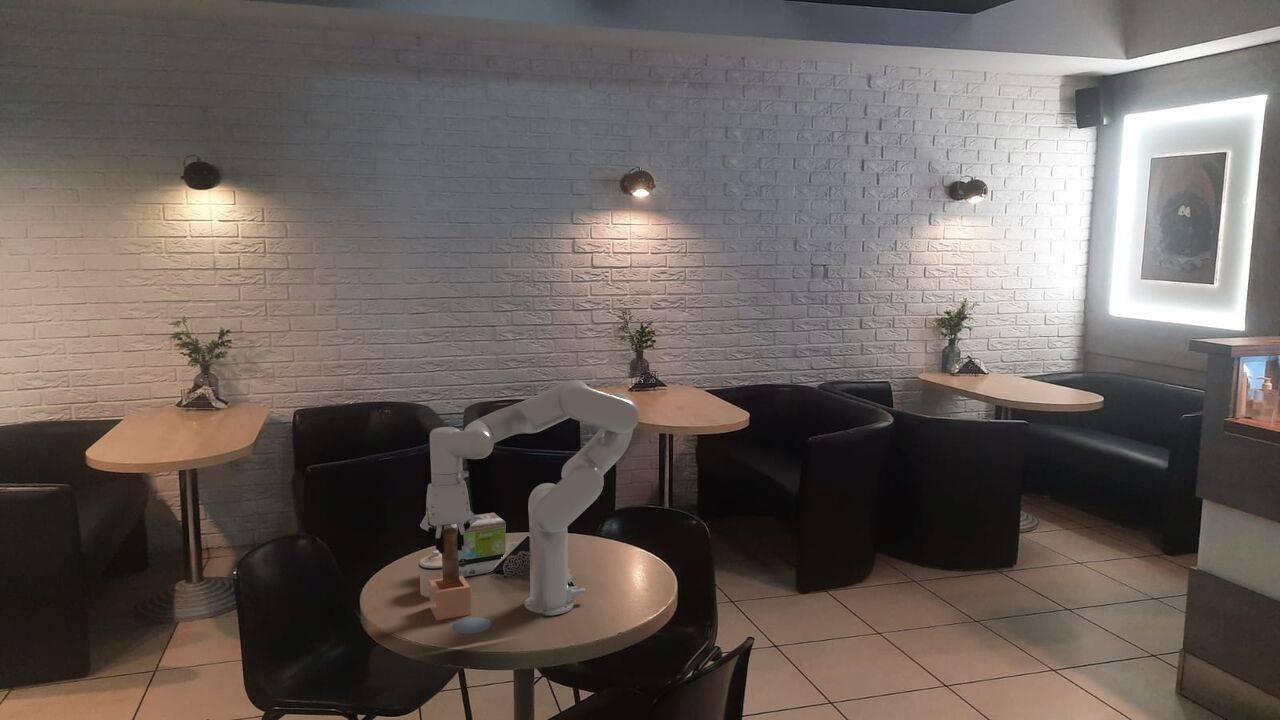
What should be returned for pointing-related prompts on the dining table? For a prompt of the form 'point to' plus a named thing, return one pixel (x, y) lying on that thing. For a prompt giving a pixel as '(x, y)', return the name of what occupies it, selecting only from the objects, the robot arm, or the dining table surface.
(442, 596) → the terracotta cup
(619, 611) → the dining table surface
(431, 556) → the teacup with lid
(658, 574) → the dining table surface
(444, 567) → the walnut pin
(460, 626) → the slate coaster
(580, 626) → the dining table surface
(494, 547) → the tea box
